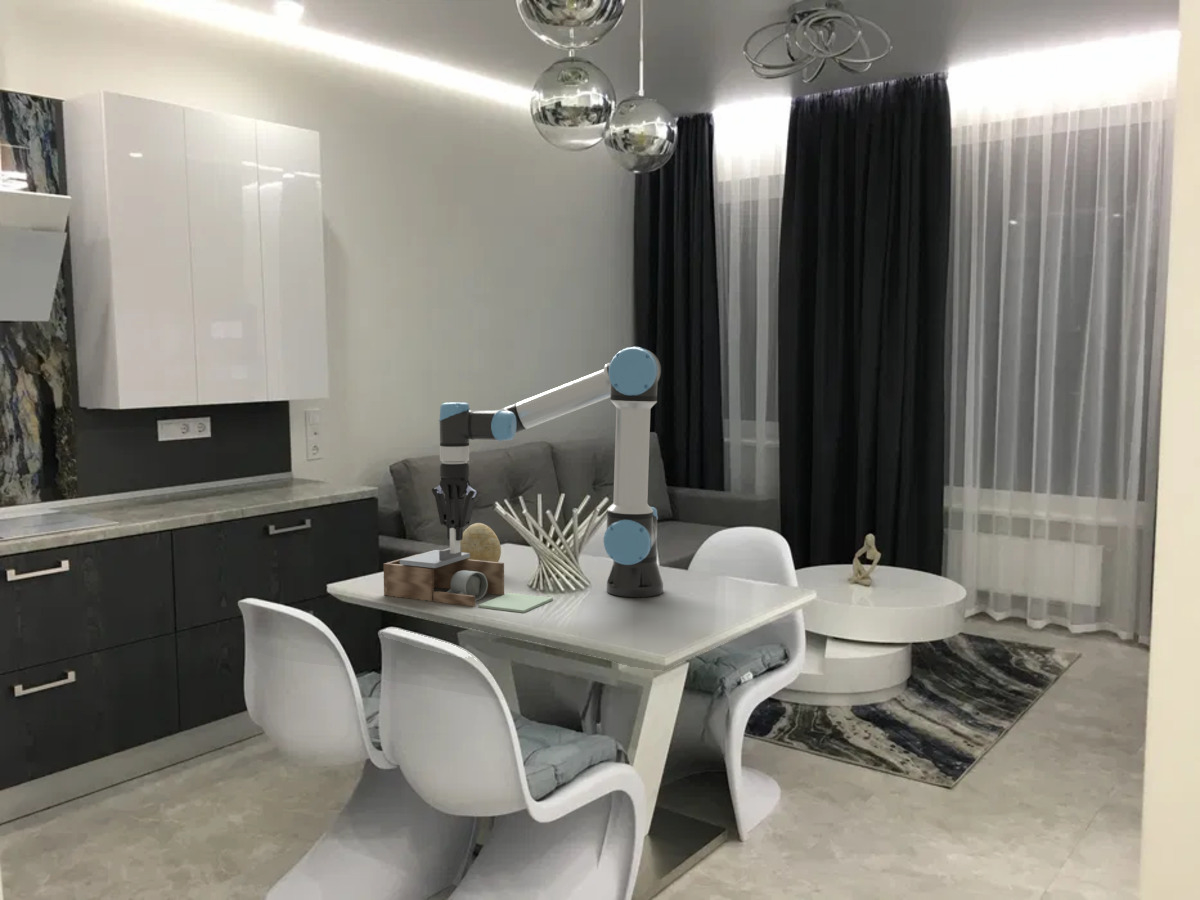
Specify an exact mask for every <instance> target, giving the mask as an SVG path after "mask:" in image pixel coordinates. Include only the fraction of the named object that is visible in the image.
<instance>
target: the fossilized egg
mask: <svg viewBox="0 0 1200 900" xmlns="http://www.w3.org/2000/svg"><path fill="white" fill-rule="evenodd" d="M460 546H461V552H464V553H470V558H467V559H471V560H480V561H490V562H500V559H501V556H502V555H501V554H502V549H501V543H500V540H499V538H498V535H496V533H495V531H494V530H493V529H492V528H491V527H490V526H489V525H486V524H484V523H481V522H475V523H473V524H471V525H468V526H467V528H465V530H464V531H463V539H462V540H460Z"/></svg>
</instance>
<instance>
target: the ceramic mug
mask: <svg viewBox="0 0 1200 900" xmlns="http://www.w3.org/2000/svg"><path fill="white" fill-rule="evenodd" d="M487 586H488V583H487V579H486V577H485V575H484V574H483V573H481V572H475V571H467V570H462V571H458V572H456V573H455V574H454V575H453V576H452V578H451V582H450V587H451V589H448V590H447V591H446V592H447V593H455V594H464V595H472V596H475V602H476V601H479V600H482V598H483V597H484V596H486V594H487V593H486V591H487Z"/></svg>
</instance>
